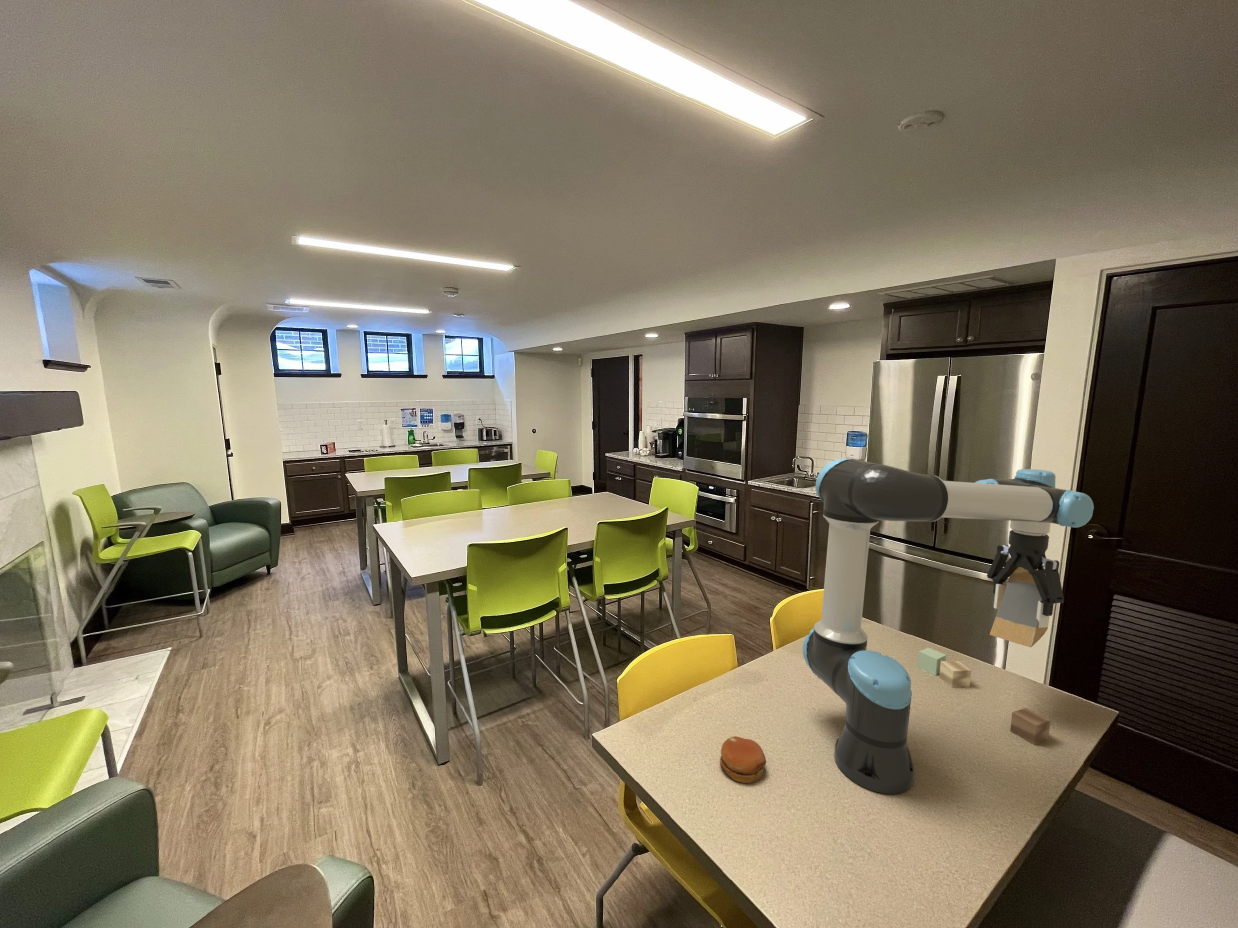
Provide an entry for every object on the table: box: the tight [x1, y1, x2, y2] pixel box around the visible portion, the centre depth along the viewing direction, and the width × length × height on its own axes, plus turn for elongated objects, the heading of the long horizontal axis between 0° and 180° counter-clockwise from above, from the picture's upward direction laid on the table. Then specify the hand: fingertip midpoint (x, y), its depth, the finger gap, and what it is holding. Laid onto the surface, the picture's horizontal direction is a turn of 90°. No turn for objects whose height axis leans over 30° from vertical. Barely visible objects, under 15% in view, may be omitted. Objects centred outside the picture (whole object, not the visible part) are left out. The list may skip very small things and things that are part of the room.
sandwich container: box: [989, 567, 1050, 648], centre depth 121 cm, size 9×15×15 cm, turn 127°
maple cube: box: [938, 660, 972, 689], centre depth 135 cm, size 5×5×5 cm
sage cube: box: [917, 647, 947, 676], centre depth 142 cm, size 5×5×5 cm
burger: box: [719, 735, 767, 784], centre depth 104 cm, size 10×9×5 cm
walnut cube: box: [1009, 707, 1051, 746], centre depth 114 cm, size 5×5×5 cm
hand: (1019, 616), depth 123 cm, fingers closed on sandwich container, 10 cm apart
